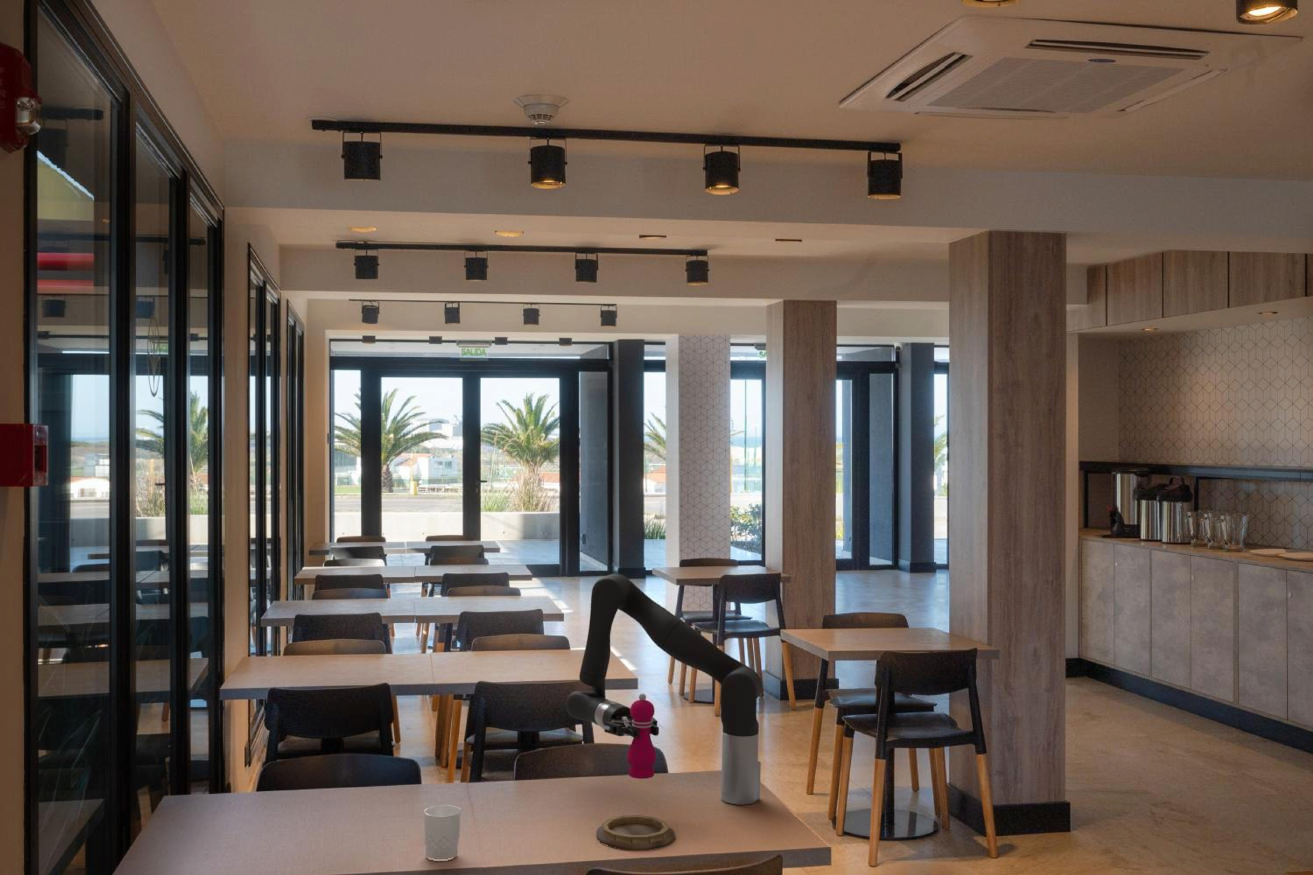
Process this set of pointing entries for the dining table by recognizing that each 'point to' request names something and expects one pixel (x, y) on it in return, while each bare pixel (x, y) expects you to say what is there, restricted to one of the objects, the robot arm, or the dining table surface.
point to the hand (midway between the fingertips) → (647, 732)
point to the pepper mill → (642, 740)
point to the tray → (635, 832)
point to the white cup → (442, 831)
